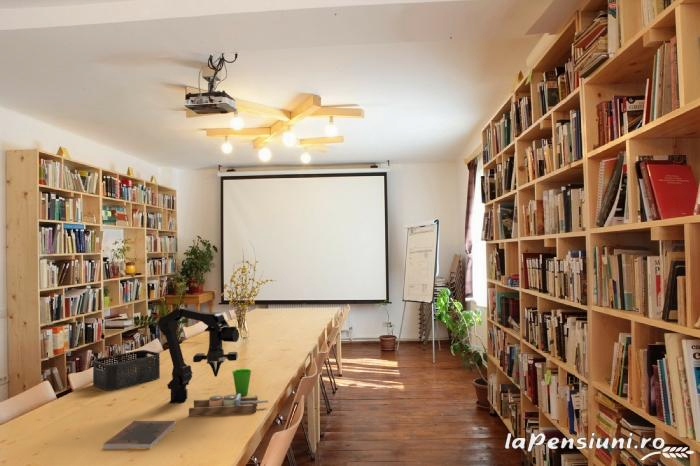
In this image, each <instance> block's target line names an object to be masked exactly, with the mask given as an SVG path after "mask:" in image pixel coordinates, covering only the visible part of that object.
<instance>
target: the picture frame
mask: <svg viewBox="0 0 700 466" xmlns="http://www.w3.org/2000/svg"><path fill="white" fill-rule="evenodd" d="M176 425H177V423H176V420H134V421H132V422H130V423H129V424H128V425H126V426H125V427H124V428H123V429H122V430H120V431H118V432H117V433H116V434H115V435H114V436H112V437H111V438H109V439H108V440H106V442H104V443H103V445H102V446H103V447H102V448H103V450H128V449H127V448H151V447H152V446H153V445H154V444H155V443H156V442H157V443H158V442H159V441H161V439H163V438H164V437H165V436H166V435H167V434H168V433H169V432H170V431H171V430H172V429H173V428H175V426H176ZM169 430H170V431H169ZM168 431H169V432H168ZM167 432H168V433H167ZM166 433H167V434H166ZM165 434H166V435H165ZM164 435H165V436H164ZM163 436H164V437H163ZM162 437H163V438H162ZM157 443H156V444H157ZM156 444H155V445H156ZM155 445H154V446H155ZM154 446H153V447H154ZM153 447H152V448H153ZM125 448H126V449H125ZM152 448H151V449H152Z"/></svg>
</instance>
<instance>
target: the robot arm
mask: <svg viewBox="0 0 700 466" xmlns="http://www.w3.org/2000/svg"><path fill="white" fill-rule="evenodd" d="M182 318H186V319H189V320H193V321H199V322H202V323H203V324H204V325H206V326H207V327H206V328H205V329H204V332H208V335H209V336H208V339H209V340H208V350H207V353H206V354H205V353H204V352H200V353H195V354H194V355H193V356H192V357H193V358H192V363H200V362H202V361H203V360H204V361H205V360H206V364H207V365H208V364H209V366H210V367H211V370H212V372H213V375H214V378H215V377H218V374H219V371H220V368H221V366H222V364H223V363H224V362H225V361H226V360H227V361H230V362H231V361H232V362H235V361H237V359H238V358H239V353H238V352H237V351H229V352H228V353H225V351H224V348H223V342H225V343H226V342H228V343H230V342H231V343H237V342H238V341H239V339H240V331H239V330H238V327H237V326H234V325H233V326H230V325H229V323H228V322H227V320H226V319H225V316H224V313H222V312H220V311H219V312H218V311H217V312H216V311H215V312H214V311H213V312H212V311H211V312H205V311H201V310H198V309H197V310H196V309H192V308H189V307H185V306H180V307H176V308H174V309H173V310H172V311H171V312H169V313H167V314H165V315H163V316H161V317H159V319H158V321H157V326H158V328H159V331H160V332H161V333H162V334H163V335H164V337H165V339H166V345H167V348H168V350H169V351H168V352H169V355H170V359H171V363H172V371H171V378H172V379H171V380H170V381H169V382H168V383H167V385H166V386H167V389H168V390H170V400H169V404H173V403H175V404H176V403H184V402H186V400H187V399H188V396H189V395H188V393H189V392H188V391H189V389H188V388H187V386H188V385H189V383H190V381H191V380H192V378H193V373H194V372H193V371H192V367H191V365H190V364H188V365H187V363H185V359H184V356H183V352H182V348H181V345H180V340H179V338H178V337H179V336H178V334H177V331H178V326H179V324H178V322H179V321H180V320H182Z"/></svg>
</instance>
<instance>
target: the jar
mask: <svg viewBox="0 0 700 466" xmlns="http://www.w3.org/2000/svg"><path fill="white" fill-rule="evenodd" d="M223 398H224V396H223V395H218V394H216V395H213V396H210V397H209V407H214V406H223Z"/></svg>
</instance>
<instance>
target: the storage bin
mask: <svg viewBox="0 0 700 466" xmlns="http://www.w3.org/2000/svg"><path fill="white" fill-rule="evenodd" d="M149 355H150V356H149ZM160 355H161V354H160V353H159V352H156V351H150V350H146V349H141V350H132V351H129V352H124V353H120V354H119V353H118V354H115V355H110V356H104V357H100V358H95V359H93V360H92V362H93V364H92V365H93V367H92V371H93V373H92V375H93V376H92V378H93V380H92V382H93V383H92V385H93V387H96V388H99V389H101V390H104V391H115V390H120V389H123V388H128V387H131V386H134V385H140V384H143V383H147V382H150V381H151V382H152V381H155V380H157V379H160V376H161V375H160V373H161V371H160V368H161V367H160V362H161V361H160Z"/></svg>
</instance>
